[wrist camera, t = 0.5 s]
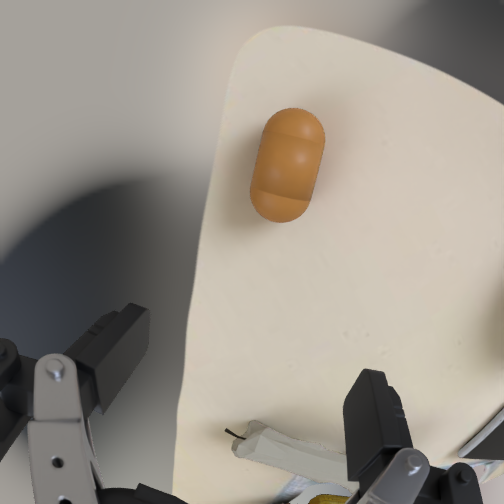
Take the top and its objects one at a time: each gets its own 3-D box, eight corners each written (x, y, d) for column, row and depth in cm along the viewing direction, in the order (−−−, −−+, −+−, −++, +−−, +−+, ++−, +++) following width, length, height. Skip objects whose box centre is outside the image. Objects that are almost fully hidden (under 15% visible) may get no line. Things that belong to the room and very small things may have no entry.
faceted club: (372, 478, 33) (217, 434, 34) (405, 439, 32) (243, 387, 33) (385, 516, 24) (203, 477, 25) (426, 475, 23) (233, 428, 25)
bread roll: (272, 107, 21) (267, 96, 17) (328, 120, 21) (335, 113, 17) (249, 208, 24) (239, 219, 20) (302, 222, 24) (303, 236, 20)
